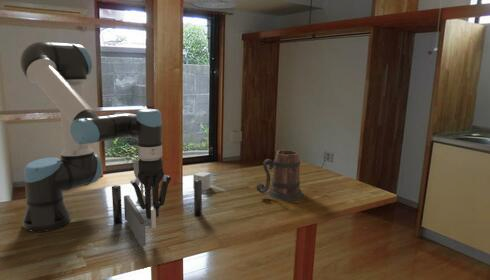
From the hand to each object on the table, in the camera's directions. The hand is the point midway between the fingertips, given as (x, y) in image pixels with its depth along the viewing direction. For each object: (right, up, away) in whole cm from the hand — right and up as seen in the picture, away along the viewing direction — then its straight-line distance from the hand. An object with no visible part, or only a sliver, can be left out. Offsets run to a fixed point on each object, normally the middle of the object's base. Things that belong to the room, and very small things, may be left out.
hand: (152, 226), depth 120 cm
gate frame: (-2, -1, +19) cm, 19 cm away
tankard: (+47, +3, +48) cm, 67 cm away
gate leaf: (-8, -3, +5) cm, 10 cm away
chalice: (-13, +2, +35) cm, 37 cm away
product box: (+10, +5, +53) cm, 55 cm away
